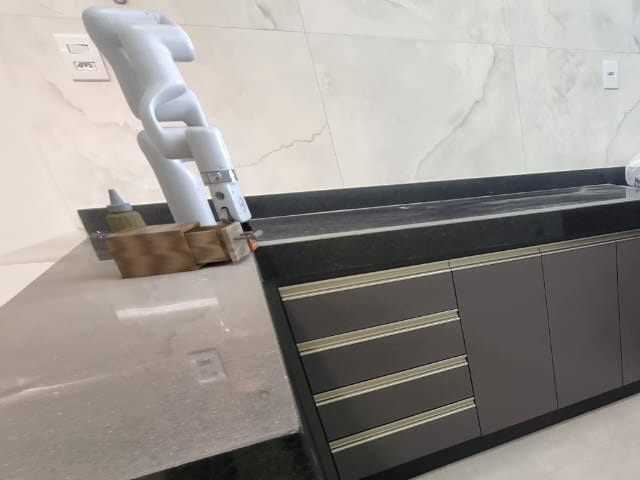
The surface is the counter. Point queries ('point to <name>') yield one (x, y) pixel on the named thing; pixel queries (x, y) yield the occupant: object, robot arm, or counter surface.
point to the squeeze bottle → (121, 214)
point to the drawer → (219, 242)
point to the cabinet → (152, 249)
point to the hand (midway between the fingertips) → (244, 243)
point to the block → (251, 242)
